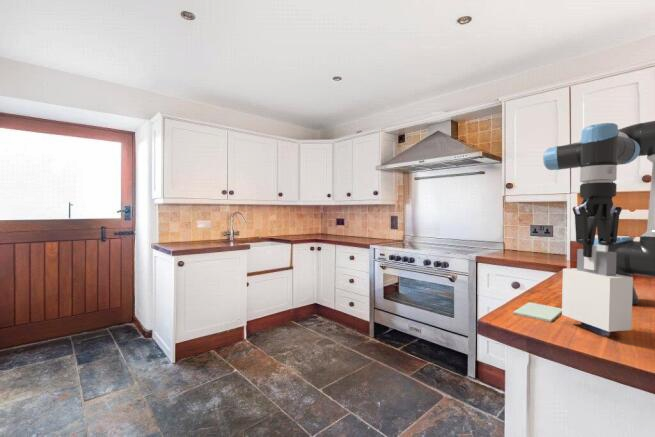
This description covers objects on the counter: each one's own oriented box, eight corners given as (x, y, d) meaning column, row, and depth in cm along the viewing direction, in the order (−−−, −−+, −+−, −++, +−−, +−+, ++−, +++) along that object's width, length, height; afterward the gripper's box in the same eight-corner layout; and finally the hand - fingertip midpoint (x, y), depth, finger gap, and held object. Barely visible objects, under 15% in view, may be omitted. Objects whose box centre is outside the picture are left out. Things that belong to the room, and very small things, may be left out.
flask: (612, 337, 81) (613, 296, 81) (599, 336, 82) (600, 295, 82) (588, 324, 91) (589, 287, 90) (577, 324, 91) (577, 287, 91)
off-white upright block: (582, 313, 93) (583, 247, 93) (631, 330, 80) (633, 253, 80) (561, 314, 92) (563, 248, 91) (608, 331, 79) (610, 254, 79)
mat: (563, 310, 103) (563, 308, 103) (550, 322, 93) (550, 319, 92) (528, 303, 111) (528, 302, 111) (513, 313, 100) (513, 311, 100)
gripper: (586, 180, 80) (584, 272, 81) (637, 182, 83) (635, 270, 83) (559, 183, 88) (557, 267, 88) (607, 184, 90) (605, 266, 91)
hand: (595, 268), depth 86 cm, fingers closed on off-white upright block, 3 cm apart
